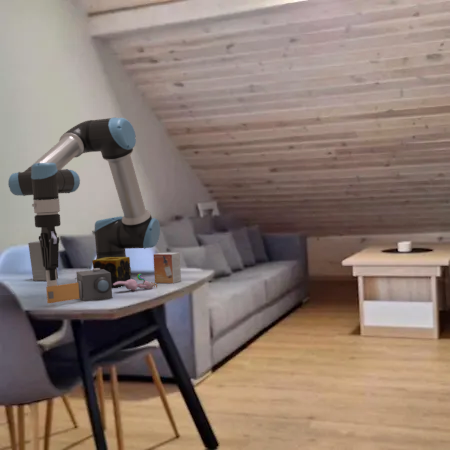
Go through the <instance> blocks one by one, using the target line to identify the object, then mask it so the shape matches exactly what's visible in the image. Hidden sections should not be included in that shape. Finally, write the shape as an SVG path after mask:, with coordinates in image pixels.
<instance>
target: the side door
mask: <svg viewBox="0 0 450 450" xmlns="http://www.w3.org/2000/svg"><path fill="white" fill-rule="evenodd" d="M45 289H46V301H47V304H54V303H61V302H66V301H67V302H68V301H74V300H82V286H81V281H78V283H77V282H73V283H66V284H63V283H62V284H59V285H58V284H57V285H56V286H49V287H47V286H46V288H45Z"/></svg>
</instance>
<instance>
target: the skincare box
mask: <svg viewBox="0 0 450 450" xmlns="http://www.w3.org/2000/svg"><path fill="white" fill-rule="evenodd" d="M27 245H28V250H29V251H28V252H29V260H30V266H31V273H32V280H33V281H35V282H36V281H43V282H44V281H46V282H47V279H46V270H45V267H43V261H42V254H41V247H40V241H39V240H37V241H30V242H28V243H27ZM56 277H57V280H58V279H59V274H58V268H57V269H56Z"/></svg>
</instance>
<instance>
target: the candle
mask: <svg viewBox="0 0 450 450" xmlns="http://www.w3.org/2000/svg"><path fill="white" fill-rule="evenodd" d="M91 262H92V270H93V269H94V268H100V269H104V270H106V271H108V272H110V273H111V285H112V289H119V288H121V286H122V287H125V285H120V284H119V285H115V286H114V285H113V284H114V283H115V282H118V281H124V282H125V281H127V280H129V279H132V275H131V274H130V267H131V258H130V256H126V257H105V258H100V259H92V261H91ZM118 287H119V288H118Z"/></svg>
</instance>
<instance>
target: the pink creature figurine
mask: <svg viewBox="0 0 450 450" xmlns="http://www.w3.org/2000/svg"><path fill="white" fill-rule="evenodd" d="M141 275H143V274H142V273H138V274H137V276H136V278H137V280H139V281H143V282H142V283H138V282H137V280H135V279H133V278H131V279H129V280H127V281H125V282H124V281H118V282H115V283H114V284H113V285H114V286H115V285H119V284H120V285H125V286H124V287H125V289H127V290H131V292H134V291H136V290H137V289H138V288H140V289H141V290H142V289H145V290H152V289H153V288H158V283H155V282H153V281H152V282H150V281H148V280H146V279H145V278H144V277H143V276H141Z"/></svg>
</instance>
